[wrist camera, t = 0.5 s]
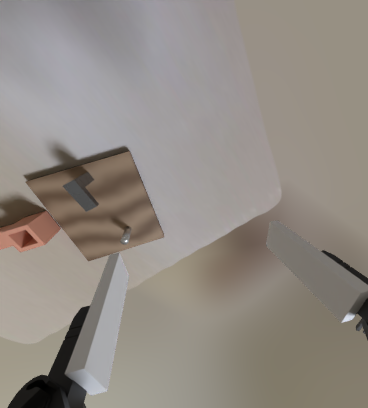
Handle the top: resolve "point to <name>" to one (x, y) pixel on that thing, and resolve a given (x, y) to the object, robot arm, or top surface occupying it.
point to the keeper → (82, 191)
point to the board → (101, 206)
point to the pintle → (126, 235)
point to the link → (29, 232)
